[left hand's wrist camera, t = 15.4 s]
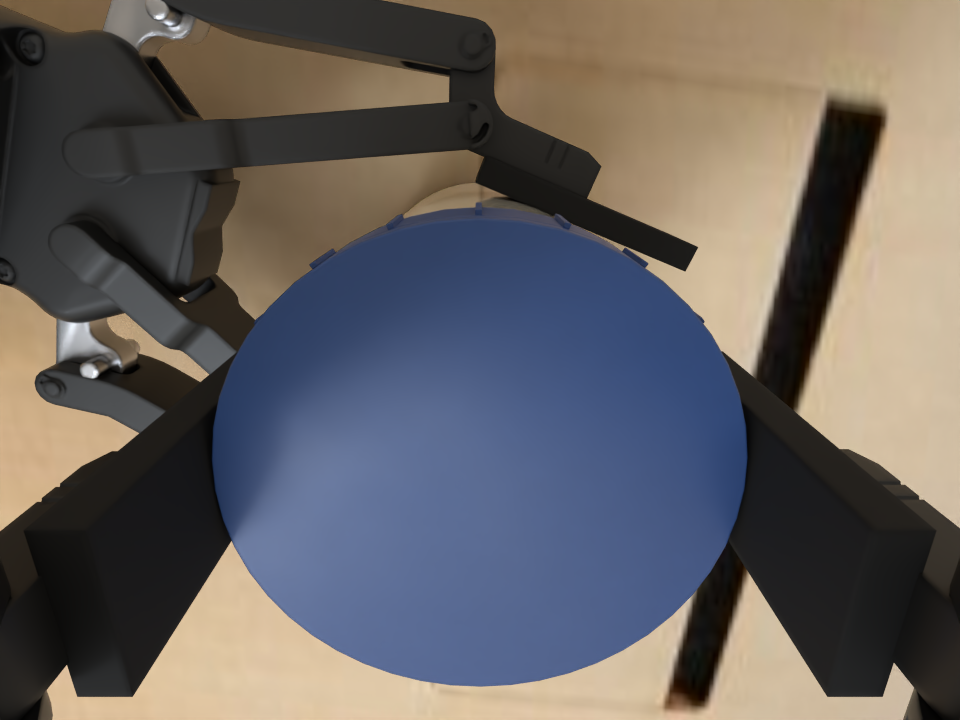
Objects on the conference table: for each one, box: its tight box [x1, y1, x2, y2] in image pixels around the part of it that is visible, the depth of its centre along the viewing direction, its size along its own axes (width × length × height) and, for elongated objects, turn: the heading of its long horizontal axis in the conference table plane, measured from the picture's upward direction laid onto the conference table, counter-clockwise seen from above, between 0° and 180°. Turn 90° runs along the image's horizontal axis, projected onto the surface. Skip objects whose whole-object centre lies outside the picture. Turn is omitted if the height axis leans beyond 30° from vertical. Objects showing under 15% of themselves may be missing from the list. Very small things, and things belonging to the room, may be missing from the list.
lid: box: [212, 202, 748, 686], centre depth 11 cm, size 10×10×2 cm
